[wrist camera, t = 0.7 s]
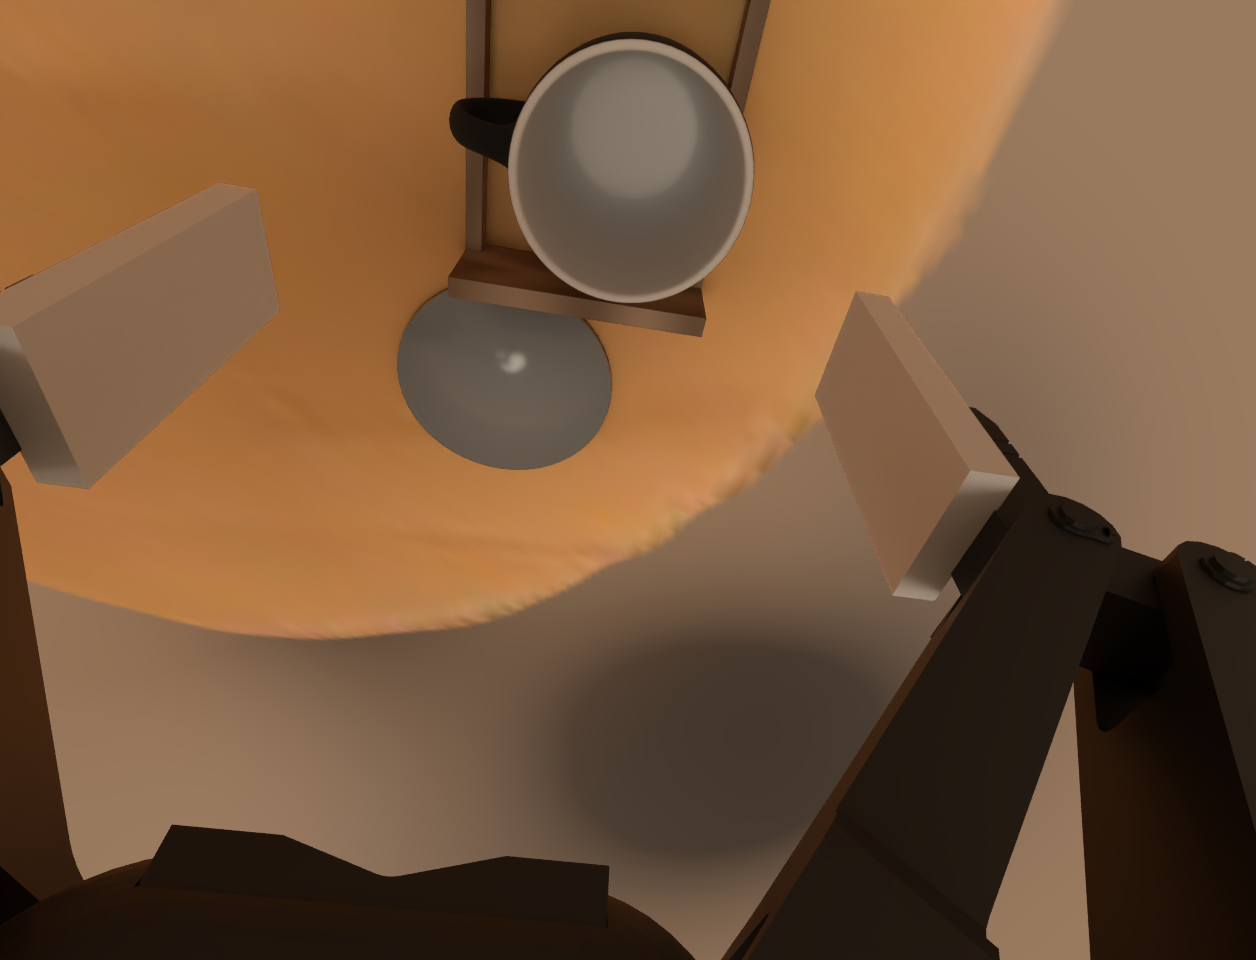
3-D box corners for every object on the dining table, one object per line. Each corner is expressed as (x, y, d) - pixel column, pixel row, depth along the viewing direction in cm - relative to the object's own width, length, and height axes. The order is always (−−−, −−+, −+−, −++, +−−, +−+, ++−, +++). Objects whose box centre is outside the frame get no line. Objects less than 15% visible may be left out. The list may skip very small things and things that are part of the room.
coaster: (406, 449, 43) (403, 454, 43) (393, 260, 35) (389, 264, 35) (597, 476, 44) (596, 481, 44) (626, 299, 36) (626, 303, 36)
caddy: (470, 260, 35) (448, 296, 31) (473, -122, 26) (442, -137, 22) (695, 297, 36) (701, 337, 32) (779, -56, 27) (802, -61, 23)
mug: (752, 43, 29) (793, 73, 21) (699, 241, 34) (715, 324, 26) (484, -24, 28) (419, -20, 20) (473, 193, 33) (419, 264, 25)
